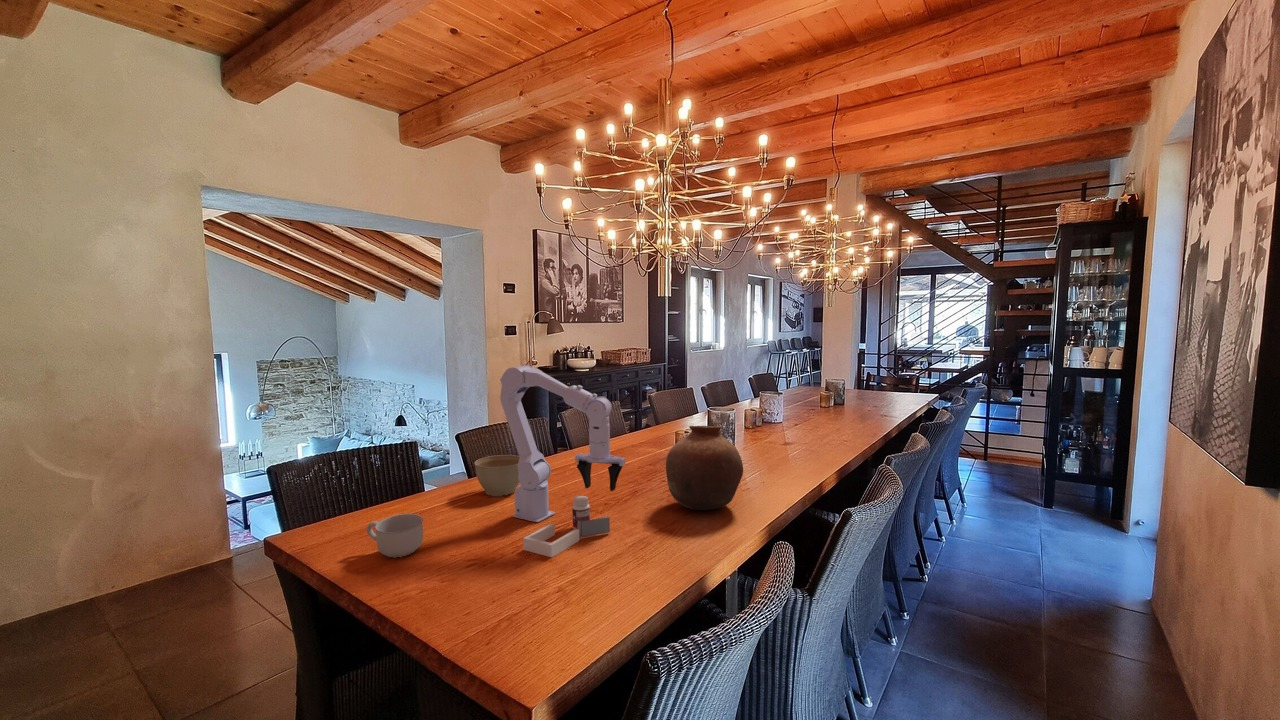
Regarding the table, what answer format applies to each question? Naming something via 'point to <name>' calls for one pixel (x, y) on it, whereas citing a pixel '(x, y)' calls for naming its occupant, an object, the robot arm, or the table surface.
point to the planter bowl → (498, 474)
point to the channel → (539, 546)
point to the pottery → (704, 469)
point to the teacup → (397, 534)
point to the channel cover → (594, 527)
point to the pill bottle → (580, 510)
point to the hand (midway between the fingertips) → (600, 488)
